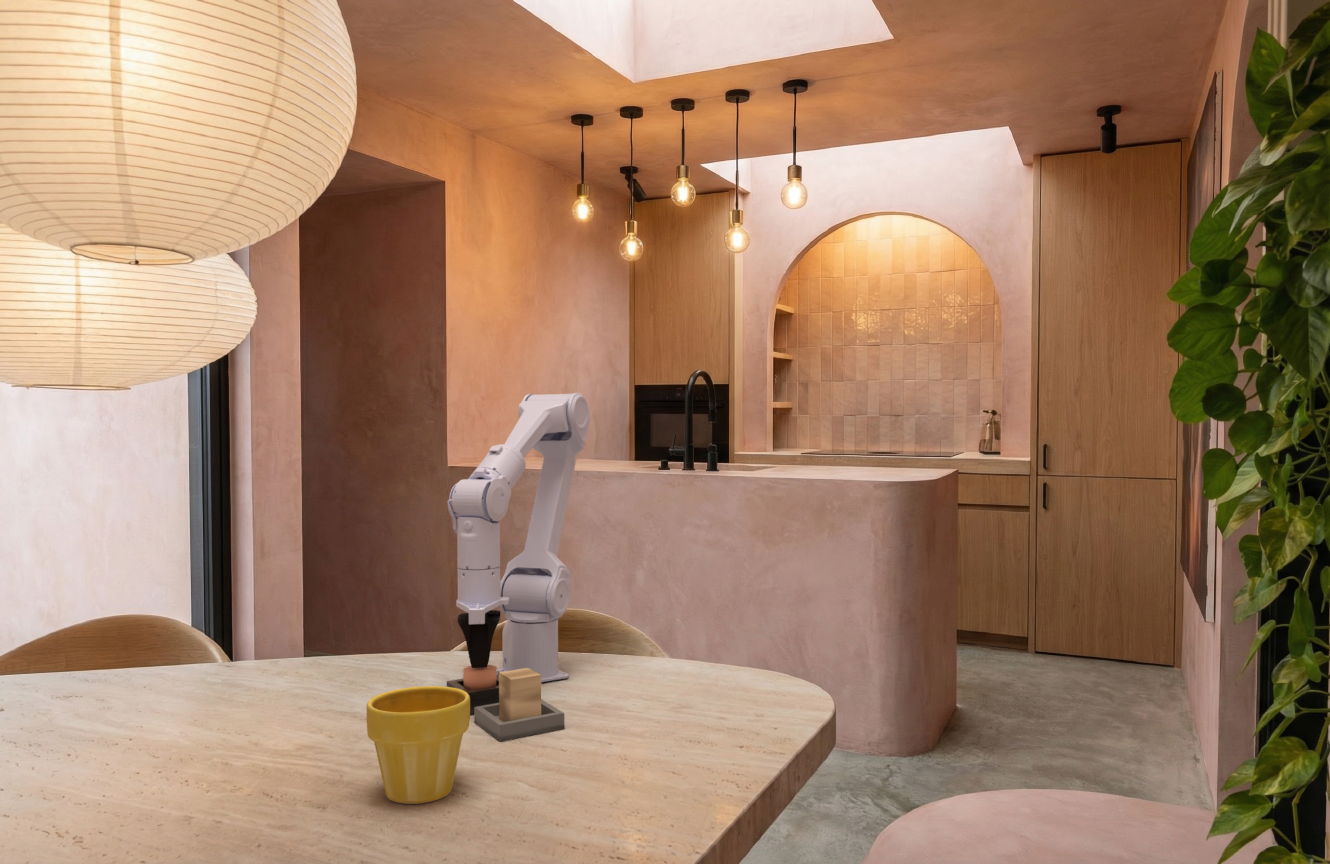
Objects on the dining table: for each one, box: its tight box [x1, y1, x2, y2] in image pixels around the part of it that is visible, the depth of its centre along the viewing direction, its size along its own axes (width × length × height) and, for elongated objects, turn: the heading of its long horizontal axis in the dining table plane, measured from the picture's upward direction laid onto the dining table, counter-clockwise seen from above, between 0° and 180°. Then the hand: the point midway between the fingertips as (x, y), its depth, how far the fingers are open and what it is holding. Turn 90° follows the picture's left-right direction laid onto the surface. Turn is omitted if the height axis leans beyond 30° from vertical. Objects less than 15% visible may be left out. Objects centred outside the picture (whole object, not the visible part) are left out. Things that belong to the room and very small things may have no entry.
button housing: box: [446, 674, 499, 716], centre depth 125 cm, size 7×7×3 cm
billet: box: [498, 668, 542, 722], centre depth 117 cm, size 4×4×6 cm
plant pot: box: [366, 685, 471, 805], centre depth 96 cm, size 10×10×10 cm
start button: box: [462, 664, 497, 690], centre depth 125 cm, size 4×4×3 cm
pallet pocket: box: [473, 698, 565, 742], centre depth 117 cm, size 9×9×2 cm
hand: (479, 666), depth 125 cm, fingers closed
